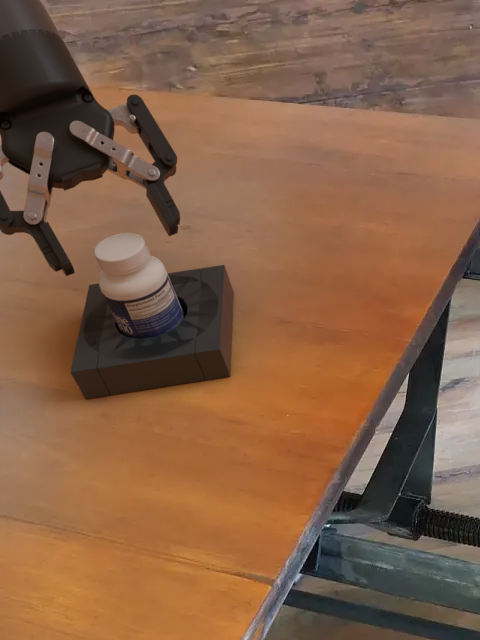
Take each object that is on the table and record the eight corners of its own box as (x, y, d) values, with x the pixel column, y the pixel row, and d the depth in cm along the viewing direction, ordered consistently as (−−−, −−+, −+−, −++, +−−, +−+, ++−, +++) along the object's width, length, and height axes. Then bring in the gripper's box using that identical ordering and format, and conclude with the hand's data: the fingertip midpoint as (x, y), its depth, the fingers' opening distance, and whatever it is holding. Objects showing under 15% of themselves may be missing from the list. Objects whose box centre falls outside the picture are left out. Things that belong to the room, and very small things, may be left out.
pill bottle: (124, 335, 79) (78, 240, 72) (183, 315, 80) (144, 219, 73) (137, 370, 76) (90, 274, 68) (198, 348, 77) (159, 252, 70)
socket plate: (85, 399, 74) (70, 372, 71) (102, 311, 81) (89, 284, 79) (230, 376, 74) (220, 349, 72) (233, 291, 82) (224, 264, 80)
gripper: (-96, 58, 62) (28, 273, 64) (102, 1, 67) (210, 203, 69) (-73, 106, 69) (38, 299, 71) (105, 51, 73) (203, 233, 76)
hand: (123, 251), depth 70 cm, fingers open, 8 cm apart
